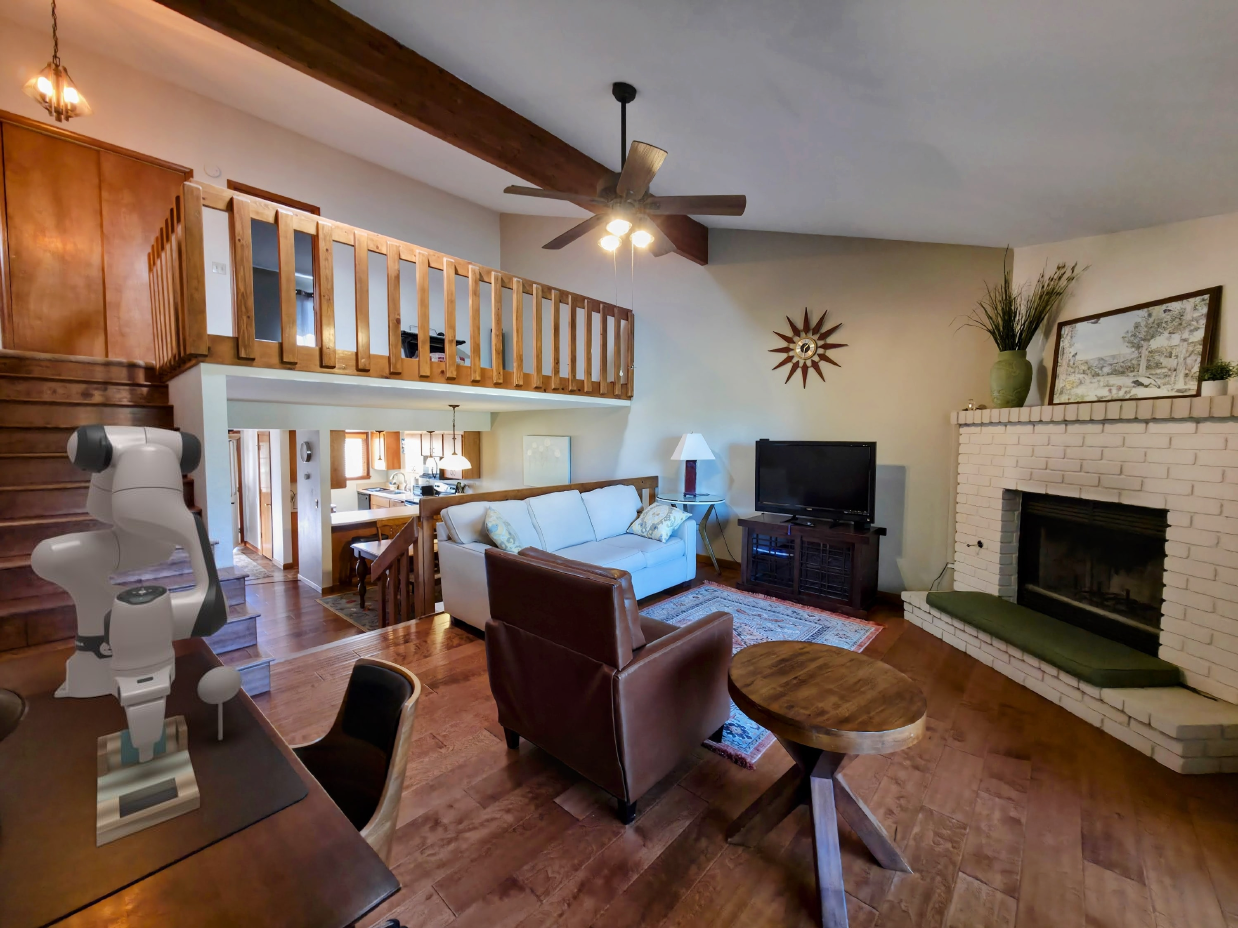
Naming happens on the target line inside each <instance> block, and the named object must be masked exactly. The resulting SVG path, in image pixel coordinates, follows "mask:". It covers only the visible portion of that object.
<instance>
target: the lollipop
mask: <svg viewBox="0 0 1238 928" xmlns="http://www.w3.org/2000/svg"><path fill="white" fill-rule="evenodd" d="M242 681H243V678H242V675H241V673H240V671H238V669H237V668H235V667H233V666H227V665H222V666H218V667H214V668H212V669H211V670H209V671H207V672H206V673H205V674H204V675H203V676H202V677H201V678H200V680H199V682H198V685H197V689H196V690H197V694H198V697H199V698H200V700H201V701H203V702H204V703H207V704H210V705H216V704H217V718H218V719H217V722H218V723H217V728H218V730H217V731H218V733H217V734H218V735H217V739H218V741H221V740H223V738H224V737H223V735H224V734H223V703H225V702H228V700H230V699H232V698H233V697H234V696H236V694H238V692H239V690H240V688H241V686H242Z"/></svg>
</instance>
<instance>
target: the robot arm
mask: <svg viewBox="0 0 1238 928" xmlns="http://www.w3.org/2000/svg"><path fill="white" fill-rule="evenodd" d="M66 450H67V451H66V452H67V455H68V457H69V458H68V459H69V460H70V462H71V465H72V466H73V467H75V468H76V469H78V470H80V471H83V472H87V473H92V474H91V478H90V483H89V490H88V494H87V497H86V498H87V499H86V504H85V507H86V508H85V509H86V511H87V512H88V514H89V515H90V516H91V517H93V518H94V519H95V520H97V521H99V522H101V523H105V524H108V525H112V528H108V529H107V528H106V529H100V530H92V531H83V532H80V531H79V532H72V533H67V534H66V533H65V534H63V535H59V536H58V535H57V536H54V537H50V538H47V539H44V540H42V541H40V542H39V543H38V544H37V545H36V546H35V548H34V549H33V551H32V553H31V556H30V566H31V568H32V570H33V571H34V573H35V574H36V575H38V577H39V578H42V579H43V580H46V581H48V582H51V583H54V584H56V585H58V586H59V587H62V589H64V590H65V591H66V592H67V593H68V594H69V595H70V596H71V598H72V600H73V603H74V604H75V610H76V619H77V633H76V634H75V639H74V645H75V650H76V651H75V652H74V654H72V655H71V656H70V657H69V658H68V659H67V661H66V662H65V668H66V672H65V673H66V674H65V681H64V682H63V683H62V684H61V685H60V687H58V688H57V690H56V691H55V692H54V698H68V697H69V698H93V697H99V696H100V697H101V696H105V695H110V694H112V695H113V696H115V697H116V698H117V699H118V702H119V703H120V707H123V709H124V711H125V714H126V720H127V725H128V729H129V732H130V737H131V742H132V745H133V747H134V748H138V749H139V761H140V762H145V761H149V760H151V759H152V758H153V747H154V743H155V742H158V741H159V740H160V739H161V736H162V731H163V724H164V719H165V713H166V702H167V696H168V695H170V694H171V690H172V689H171V686H172V683H173V682H174V680H175V677H176V664H175V663H176V655H175V654H176V652H175V648H174V647H173V641H179V640H183V639H184V640H185V639H198V638H205V637H207V638H208V637H212V636H213V635H214V634H216V633H217V632H219V631H220V630H221V629H222V628H223V627H225V625H227V623H228V620H229V617H230V607H229V606H230V605H229V602H228V599H227V596H226V594H225V592H224V590H223V588H222V586H221V582H220V578H219V572H218V568H217V563H216V561H215V556H214V552H213V548H212V544H211V541H210V538H209V534H208V530H207V528H206V525H205V522H204V520H203V519H202V517H201V516H200V515H198V514H195V513H192V512H191V511H190V509H189V508H188V506H187V505H186V503H185V500H184V499H185V498H184V485H183V475H189V474H192V473H193V472H194V471H196V470H197V469H198V468H199V466H200V463H201V462H202V460H203V455H204V453H203V447H202V443H201V440H200V439H199V437H198V436H196V434H193V433H190V432H185V431H183V430H177V431H175V430H171V429H165V428H164V429H163V428H158V427H151V426H150V427H149V426H129V425H104V424H102V423H99V424H98V423H95V424H94V423H93V424H91V423H90V424H84V425H80V426H79V427H78V428H77V427H76V429H75V430H74V432H73V433H72V435H71V436H70V437H69V439H68V441H67V445H66ZM177 546H179V547H181V548H182V549H183V550H184V551H186V553H187V555H188V557H189V561H190V565H191V569H192V573H193V577H194V582H195V587H194V588H192V589H190V590H183V591H176V592H170V591H169V589H168V588H167V587H164V586H162V585H141V586H136V587H131V588H130V587H127V586H123V585H119V584H118V585H117V584H113V583H112V582H111V579H110V575H112V574H117V573H122V572H129V571H134V570H141V569H147V568H149V567H153V566H156V565H159V564H163V563H166V562H167V561H169V560H171V558H172V556H173V555H174V553H175V550H176V548H177Z"/></svg>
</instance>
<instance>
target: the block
mask: <svg viewBox="0 0 1238 928" xmlns="http://www.w3.org/2000/svg"><path fill="white" fill-rule="evenodd" d="M120 732H121V763H122V766H124V765H127V764H131V763H134V762H137V761H139V749H138V748H134V747H133V745H132V742H131V737H130V732H129V728H126V729H123V730H120ZM162 753H166V728H165V723H164V724H163V731H162V736H161V739H160V740H159V741H158V742H155V743H154V747H153V756H156V755H159V754H162Z"/></svg>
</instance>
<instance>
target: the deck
mask: <svg viewBox="0 0 1238 928" xmlns="http://www.w3.org/2000/svg"><path fill="white" fill-rule="evenodd" d="M164 723H165V728H166V753H162V754H159V755H156V756H153V758H152V759H151V760H149V761H145V762H140V761H137V762H134V763H131V764H127V765H124V766H122V763H121V731H117V732H113V733H111V734H107V735H103V736H99V737H98V738H97V755H96V758H97V762H96V763H97V787H96V789H97V794H96V795H97V796H96V798H97V799H96V848H98V847H100V846H103V845H106V844H108V843H111V842H113V841H116V840H119V839H122V838H124V837H126V836H129V835H132V834H135V833H137V832H140V831H142V830H145V829H147V828H150V827H152V826H155V825H157V824H158V825H159V824H160V823H163V822H165V821H168V820H171V819H173V818H176V817H178V816H181V815H184V814H187V813H189V812H191V811H193V810H197V809H200V808H201V794H200V791H199V790H200V789H199V786H198V783H197V780H196V776H195V772H194V768H193V765H192V761H191V757H190V754H189V750H188V726H187V723H186V719H185V716H184V715H183V714H182V715H175V716H172V717H168V718H164Z"/></svg>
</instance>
